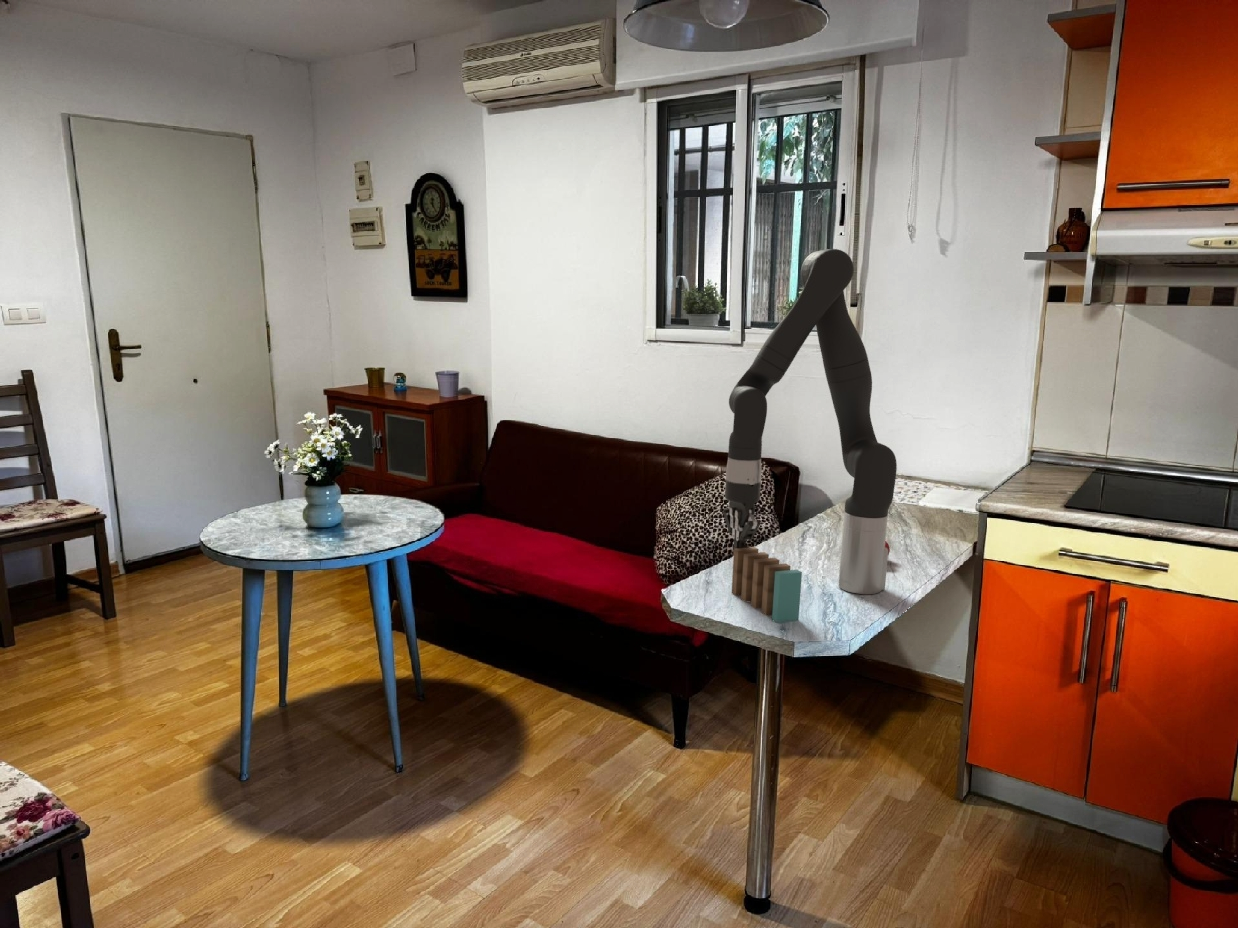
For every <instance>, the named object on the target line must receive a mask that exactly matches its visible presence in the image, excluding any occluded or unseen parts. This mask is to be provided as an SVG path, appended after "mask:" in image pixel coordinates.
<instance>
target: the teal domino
mask: <svg viewBox="0 0 1238 928" xmlns="http://www.w3.org/2000/svg"><path fill="white" fill-rule="evenodd" d="M802 575H803V571H801V570H799V569H790V570H786V571H776V572H775V582H774V597H773V613H772V615H771V620H772V621H773V620H774V621H773V622H775V623H777V624H779V623H785V622H786V623H787V622H795V621H799V617H800V604H801V603H800V602H801V593H802V592H801V591H802V590H801V589H802V579H803V578H802V577H803V576H802Z"/></svg>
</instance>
